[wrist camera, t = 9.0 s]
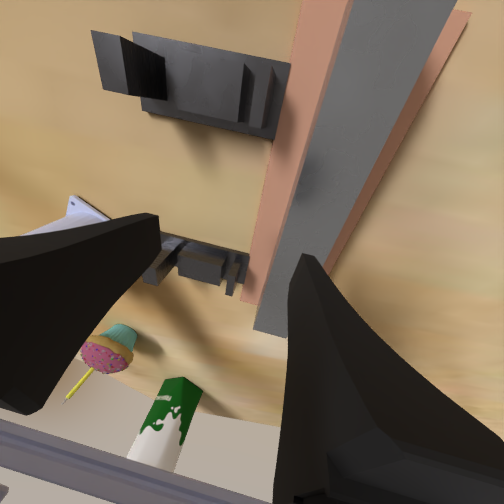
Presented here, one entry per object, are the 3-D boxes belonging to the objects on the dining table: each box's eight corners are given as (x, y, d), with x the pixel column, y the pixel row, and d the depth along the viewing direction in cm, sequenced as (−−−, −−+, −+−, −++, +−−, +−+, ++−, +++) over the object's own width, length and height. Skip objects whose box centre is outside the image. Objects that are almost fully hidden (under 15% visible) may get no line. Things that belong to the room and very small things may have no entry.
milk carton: (184, 394, 52) (133, 520, 35) (159, 377, 48) (90, 508, 32) (208, 392, 48) (163, 533, 31) (183, 373, 44) (117, 520, 28)
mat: (304, 315, 26) (305, 318, 26) (240, 298, 27) (239, 300, 26) (466, 15, 11) (472, 12, 10) (305, -13, 11) (306, -17, 11)
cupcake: (131, 347, 42) (81, 416, 32) (97, 323, 39) (29, 392, 29) (154, 338, 38) (105, 415, 28) (117, 311, 35) (47, 386, 25)
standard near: (275, 139, 16) (267, 146, 12) (146, 110, 16) (95, 107, 12) (291, 65, 13) (288, 40, 9) (137, 34, 14) (69, -4, 10)
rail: (287, 311, 26) (286, 338, 23) (258, 303, 26) (252, 329, 23) (417, 19, 11) (469, -25, 8) (345, 6, 11) (366, -42, 8)
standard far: (244, 281, 25) (234, 313, 21) (163, 260, 25) (138, 286, 21) (250, 254, 22) (240, 284, 18) (160, 231, 23) (130, 255, 19)
